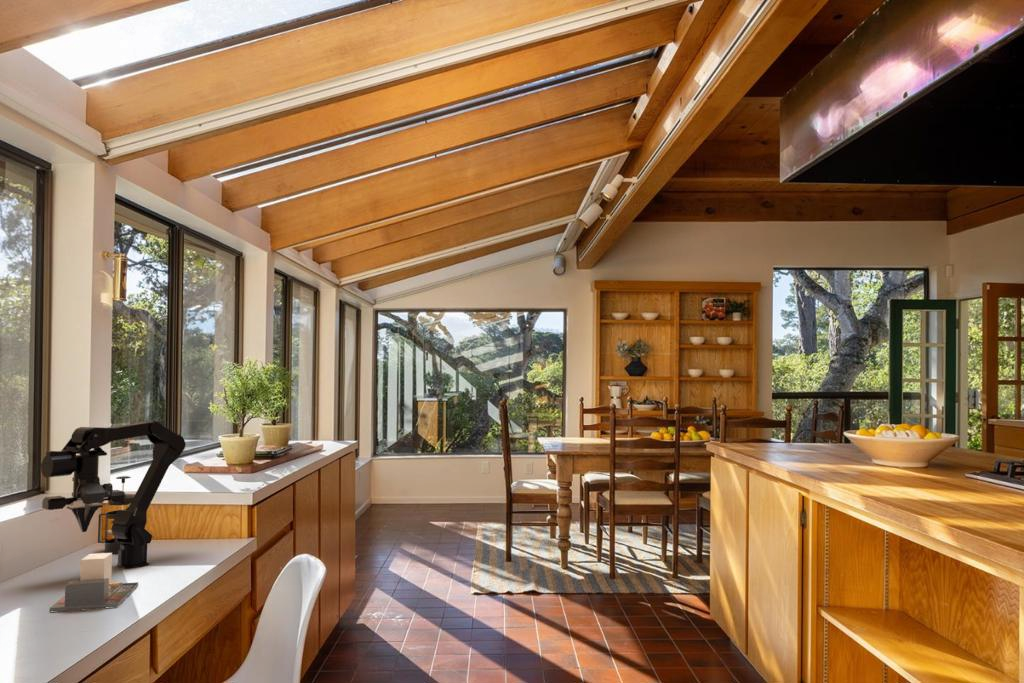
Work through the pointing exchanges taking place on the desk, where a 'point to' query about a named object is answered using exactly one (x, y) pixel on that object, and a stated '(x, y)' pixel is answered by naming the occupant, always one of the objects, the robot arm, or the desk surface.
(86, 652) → the desk surface
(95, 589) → the gauge base
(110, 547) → the french press
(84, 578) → the cream box
